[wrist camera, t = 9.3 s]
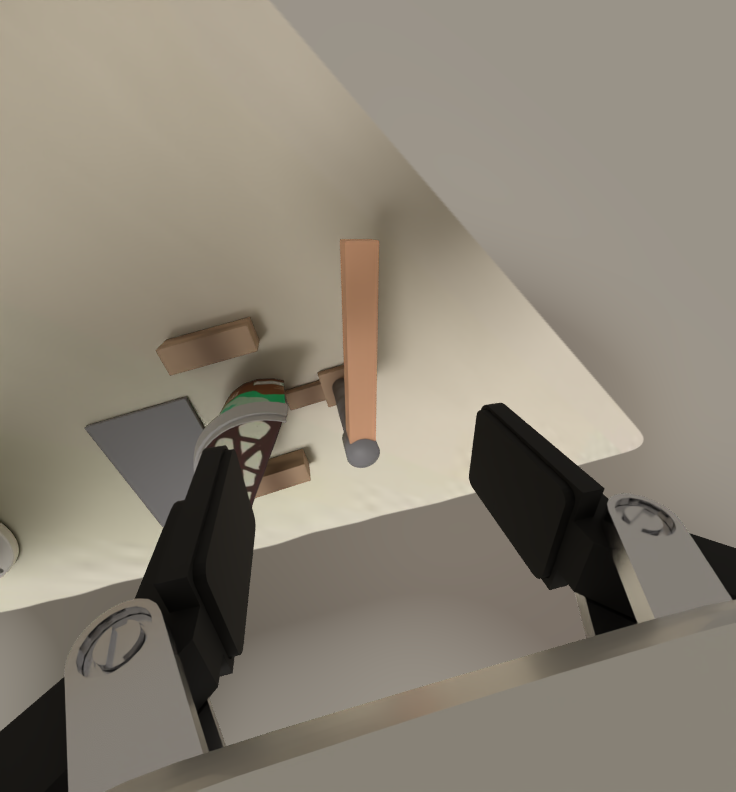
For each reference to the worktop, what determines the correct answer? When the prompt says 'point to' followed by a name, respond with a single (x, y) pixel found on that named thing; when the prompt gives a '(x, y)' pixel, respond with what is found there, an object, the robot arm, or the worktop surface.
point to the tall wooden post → (360, 347)
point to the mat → (153, 451)
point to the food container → (248, 428)
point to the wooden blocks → (331, 387)
